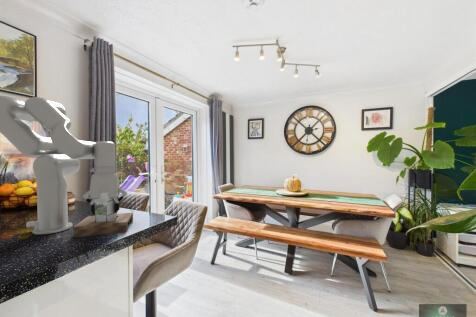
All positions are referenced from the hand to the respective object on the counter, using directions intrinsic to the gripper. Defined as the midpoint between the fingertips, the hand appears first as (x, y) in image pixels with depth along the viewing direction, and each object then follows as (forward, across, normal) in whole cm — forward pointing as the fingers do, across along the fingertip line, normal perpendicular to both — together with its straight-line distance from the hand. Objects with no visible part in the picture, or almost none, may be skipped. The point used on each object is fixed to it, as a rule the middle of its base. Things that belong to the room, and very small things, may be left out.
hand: (105, 212), depth 89 cm
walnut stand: (+7, 0, 0) cm, 7 cm away
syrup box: (+6, 0, 0) cm, 6 cm away
